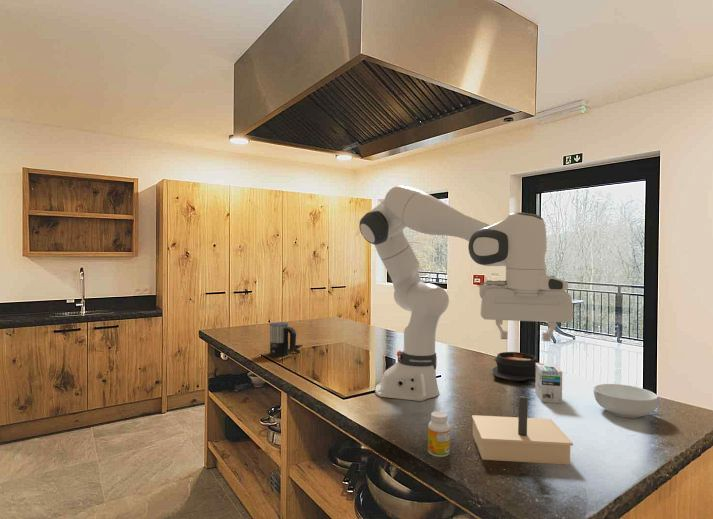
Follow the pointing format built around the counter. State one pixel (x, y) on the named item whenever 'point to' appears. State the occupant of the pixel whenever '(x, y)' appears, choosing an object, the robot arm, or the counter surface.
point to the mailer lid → (520, 428)
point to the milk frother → (282, 339)
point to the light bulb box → (548, 383)
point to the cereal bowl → (625, 400)
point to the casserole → (515, 366)
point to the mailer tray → (522, 451)
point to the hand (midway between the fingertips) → (524, 339)
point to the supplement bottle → (439, 434)
